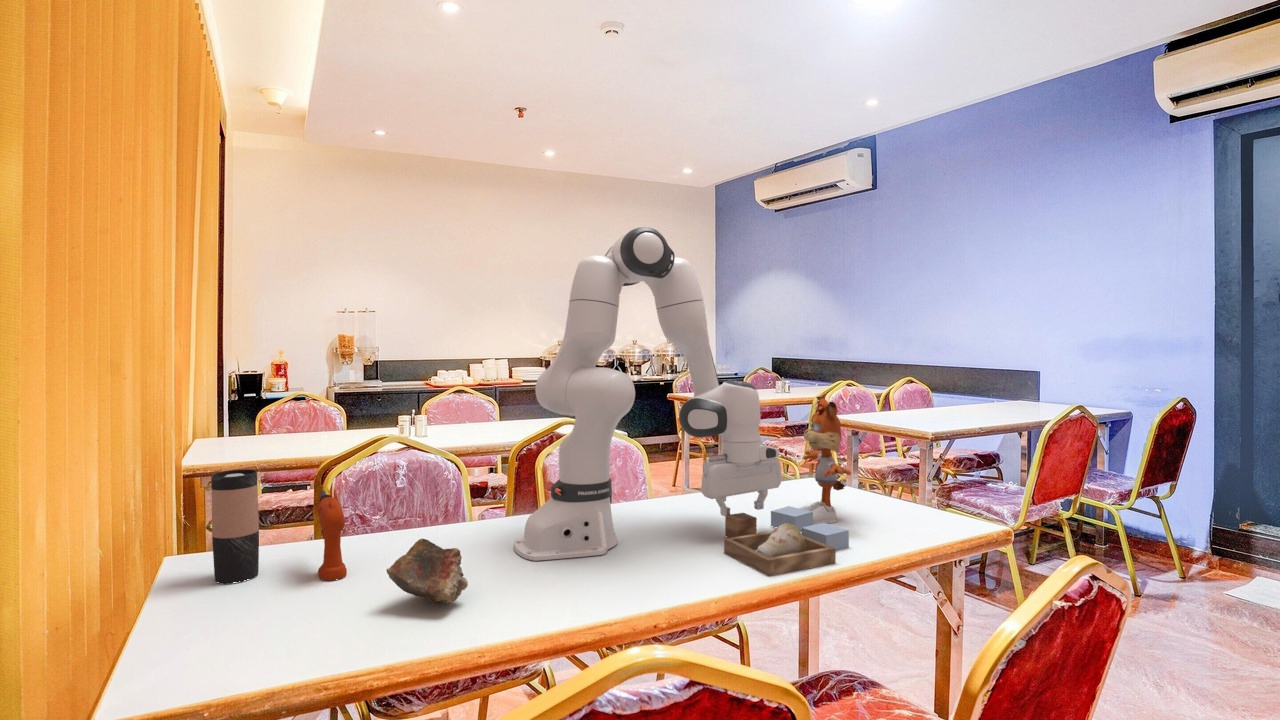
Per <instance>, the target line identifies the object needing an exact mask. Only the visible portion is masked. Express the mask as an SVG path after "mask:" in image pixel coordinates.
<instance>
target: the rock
mask: <svg viewBox="0 0 1280 720" xmlns="http://www.w3.org/2000/svg"><path fill="white" fill-rule="evenodd" d="M462 558H463V556H462V555H461V551H460V549H459V548H457V547H453V548H442V547H441V546H439V545H436V543H433V542H432V541H430V540H428V539H426V538H419V539H418V540H417V541H415V542H414V544H413V545H412V546H411V547H410V548H409V550H408V551H406V553H405V554H404V555H403V554H402V555H401V556H400V557H399V558H397V559H396V560H395V561H394V562H393V564H392V565H391V566H390V567H388V568H386V573H387V575H388V577H389V579H390V580H391V581H392V582H393V583H394V584H395V585H396V586H397V587H398V588H399V589H401V590H402V591H403V592H405V593H407V594H409V595H413V596H415V597H419V598H422V599H425V600H430V602H433V603H435V602H436V603H437V602H439V603H447V604H452V603H454V602H455V601H456V600H457V599H458V598H459V597H460V596H461V594H462V592H463V591H465V590H466V589H467V588H468V585H469V581H468V580H467V579H468V578H465V577H464V576H465V575H464V572H463V569H462V567H461V564H462Z"/></svg>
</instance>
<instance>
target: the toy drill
mask: <svg viewBox="0 0 1280 720" xmlns="http://www.w3.org/2000/svg"><path fill="white" fill-rule="evenodd" d="M320 494H321V497H319V498H320V499H319V504H318V505H317V512H318V517H319V523H320V528H321V529H322V531H323V542H324V544H323V545H324V549H323V561H322V564H321V565H320V566H319V567H318V570H317V575H318V577H319V579H320V578H321V579H320V580H322V579H323V580H322V581H324V580H335V581H337V580H336V579H339V580H341V579H340V578H342V579H344V578H346V577H347V574H348V573H347V572H348V569H347V567H346V565H345V563H344V562H343V555H342V548H341V539H342V538H341V536H342V531H343V530H344V529H345V527H346V526H345V525H346V521H345V515H344V511H343V507H342V505H341V503H340V501H339V500H338V499H336V498H335V497H333V496H332V495H330V494H327V492H326V490H323V489H322V490H321V491H320ZM343 577H344V578H343Z"/></svg>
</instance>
